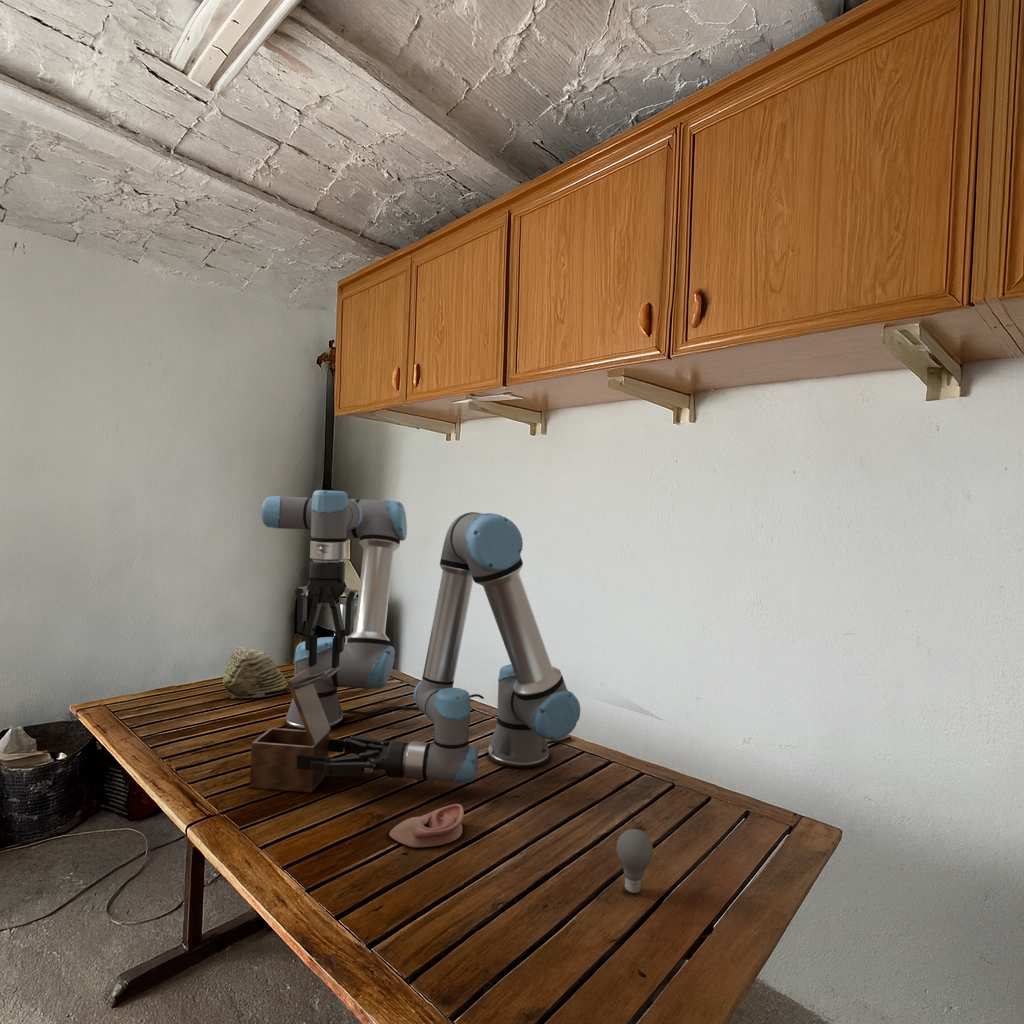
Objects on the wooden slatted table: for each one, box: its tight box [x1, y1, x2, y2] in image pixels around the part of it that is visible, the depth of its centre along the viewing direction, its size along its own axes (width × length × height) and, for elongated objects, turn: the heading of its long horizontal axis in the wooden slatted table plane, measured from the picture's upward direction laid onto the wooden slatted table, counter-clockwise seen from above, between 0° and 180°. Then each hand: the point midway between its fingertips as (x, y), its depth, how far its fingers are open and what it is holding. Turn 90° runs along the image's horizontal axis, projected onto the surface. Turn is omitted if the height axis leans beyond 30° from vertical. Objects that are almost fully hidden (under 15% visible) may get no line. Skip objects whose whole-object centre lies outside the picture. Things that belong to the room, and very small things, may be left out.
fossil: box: [222, 646, 288, 699], centre depth 198 cm, size 9×18×15 cm, turn 132°
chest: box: [249, 727, 330, 794], centre depth 140 cm, size 14×9×10 cm, turn 86°
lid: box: [286, 666, 340, 746], centre depth 139 cm, size 15×9×9 cm
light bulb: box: [615, 828, 654, 894], centre depth 106 cm, size 6×6×10 cm
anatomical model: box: [388, 803, 465, 848], centre depth 121 cm, size 13×4×12 cm
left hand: (324, 665), depth 140 cm, fingers open, 4 cm apart
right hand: (306, 752), depth 140 cm, fingers closed on chest, 9 cm apart
